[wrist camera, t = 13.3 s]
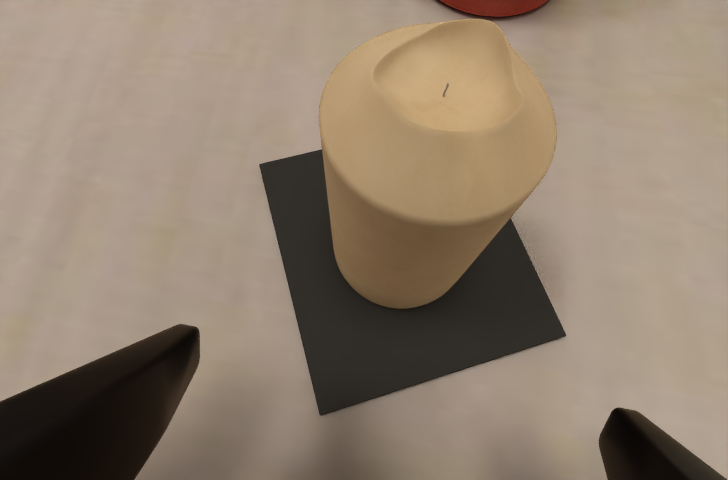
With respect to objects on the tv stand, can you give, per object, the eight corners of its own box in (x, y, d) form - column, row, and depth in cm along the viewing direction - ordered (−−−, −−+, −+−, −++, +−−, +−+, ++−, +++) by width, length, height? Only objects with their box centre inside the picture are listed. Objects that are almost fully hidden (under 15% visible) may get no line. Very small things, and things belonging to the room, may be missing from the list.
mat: (563, 336, 17) (566, 335, 16) (320, 415, 15) (319, 415, 15) (461, 119, 20) (462, 116, 20) (260, 167, 19) (259, 164, 19)
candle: (390, 166, 19) (427, -64, 10) (489, 240, 18) (641, 58, 8) (306, 251, 17) (253, 72, 8) (409, 339, 16) (488, 248, 7)
